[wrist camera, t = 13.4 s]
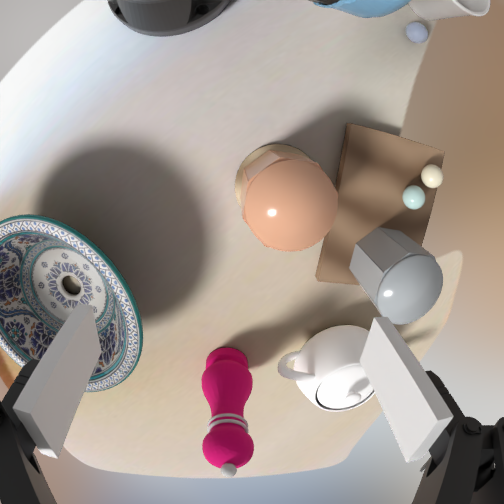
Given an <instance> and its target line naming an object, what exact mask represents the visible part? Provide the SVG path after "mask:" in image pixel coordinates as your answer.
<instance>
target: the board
mask: <svg viewBox="0 0 504 504" xmlns="http://www.w3.org/2000/svg"><path fill="white" fill-rule="evenodd" d="M443 158H444V151H441V150H439V149H436V148H433V147H430V146H427V145H424V144H421V143H418V142H415V141H412V140H409V139H406V138H402V137H399V136H396V135H392V134H389V133H385V132H382V131H378V130H375V129H371V128H367V127H364V126H360V125H356V124H352V123H347V126H346V132H345V137H344V143H343V149H342V154H341V160H340V165H339V170H338V175H337V180H336V185H335V189H336V191H337V193H338V209H337V215H336V218H335V221H334V223H333V225H332V227H331V229H330V231H329V232H328V233H327V234H326V235H325V237H324V241H323V246H322V250H321V254H320V258H319V263H318V267H317V271H316V275H315V276H316V278H317V280H318V281H320V282H331V283H343V284H355V285H359V283H358V281H357V280H356V278H355V277H354V275H353V274H352V272H351V271H350V269H349V267H350V263H351V259H352V256H353V252H354V248H355V244H357V242H358V241H359V240H361V239H362V238H363V237H365V236H366V235H368V234H369V233H370V232H372V231H373V230H374V229H376V228H377V227H381V228H387V229H393V230H399V231H401V232H402V233H404V234H405V235H407V236H408V237H409V238H411V239H412V240H413V241H415V242H416V243H417V244H419V245H420V246H422V243H423V239H424V236H425V232H426V229H427V225H428V222H429V218H430V214H431V211H432V207H433V203H434V198H435V195H436V191H437V188H429V187H427V186H426V185H425V184H424V183H423V181H422V179H421V172H422V170H423V168H424V167H425V166H427V165H430V164H433V165H436V166H438V167H439V168H440V169H441V168H442V163H443ZM411 185H416V186H418V187H420V188H421V189H422V190H423V191H424V193H425V202H424V204H423V206H422V207H421V208H419V209H415V210H414V209H410V208H408V207H407V206H406V205H405V204H404V202H403V199H402V195H403V192H404V190H405V189H406V188H407V187H408V186H411Z"/></svg>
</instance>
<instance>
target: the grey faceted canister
mask: <svg viewBox="0 0 504 504" xmlns="http://www.w3.org/2000/svg"><path fill="white" fill-rule="evenodd" d="M349 269H350V271H351V272H352V274H353V275H354V277H355V278H356V280H357V281H358V283H359V285H360V286H361V288H362V289H363V290H364V292H365V293H366V295H367V296H368V297H369V299H370V300H371V301H372V303H373V304H374V306H375V307H376V309H377V310H378V311H379V313H380V314H381V316H382V317H388V318H389V320H390V321H391V322H392V323H394V324H408V323H411V322H413V321H416V320H418V319H419V318H421V317H422V316H424V315H425V314H426V313H427V312H428V311H429V310H430V309H431V308H432V307H433V306H434V304H435V303H436V301H437V299H438V297H439V295H440V293H441V290H442V285H443V275H442V270H441V268H440V266H439V265H438V263H437V262H436V260H435V257H434V256H433V255H432V254H430V253H429V252H428V251H426V250H425V249H424V248H422V247H421V246H420V245H419V244H417V243H416V242H415V241H413V240H412V239H411V238H409V237H408V236H407V235H405V234H404V233H402V232H401V231H399V230H393V229H387V228H381V227H377V228H376V229H374V230H373V231H372V232H370V233H369V234H368V235H366V236H365V237H363V238H362V239H361V240H359V241H358V242H357V244H355V248H354V252H353V256H352V259H351V263H350V267H349Z"/></svg>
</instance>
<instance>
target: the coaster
mask: <svg viewBox="0 0 504 504" xmlns="http://www.w3.org/2000/svg"><path fill="white" fill-rule="evenodd" d="M268 150H275V151H282V152H288V153H294V154H299V155H301V156H303V157H306V158H308V159H310V158H309V157H308V156H307V155H306V154H305V153H303V152H302V151H300V150H299V149H297V148H294V147H292V146H288V145H284V144H272V145H267V146H264V147H261V148H259V149H257V150H255V151H254V152H252V153H251V154H250V155H249V156H248V157H247V158H246V159H245V160H244V161H243V163H242V164H241V166H240V168H239V170H238V172H237V175H236V180H235V193H236V198H237V201H238V203H239V205H240V207H241V202H240V193H241V186H242V179H243V172H244V168H245V167H246V166H247V165H249V164H250V163H251V162H253V161H254V160H255V159H257V158H258V157H260V156H261V155H262V154H264V153H265V152H266V151H268ZM310 160H311V159H310Z"/></svg>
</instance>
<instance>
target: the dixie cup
mask: <svg viewBox="0 0 504 504" xmlns="http://www.w3.org/2000/svg"><path fill="white" fill-rule="evenodd" d="M408 4H409V6H410V7H411V9H412V10H413V11H414V12H415V13H416V14H417V15H418V16H419V17H421V18H423V19H425V20H429V21H432V20H438V19H445V18H453V17H461V16H470V15H474V16H483V15H485V14H487V12H488V11H489V9H490V0H411V1H410V2H409V3H408Z"/></svg>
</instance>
